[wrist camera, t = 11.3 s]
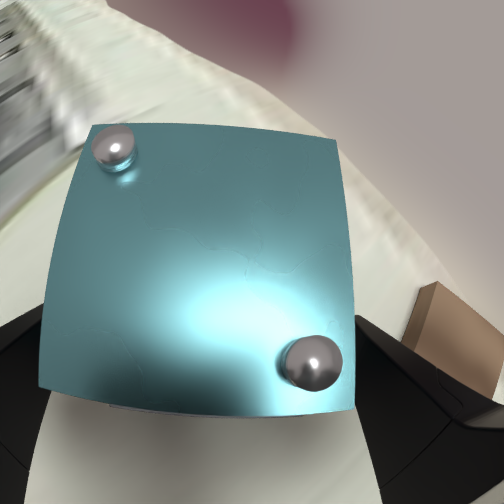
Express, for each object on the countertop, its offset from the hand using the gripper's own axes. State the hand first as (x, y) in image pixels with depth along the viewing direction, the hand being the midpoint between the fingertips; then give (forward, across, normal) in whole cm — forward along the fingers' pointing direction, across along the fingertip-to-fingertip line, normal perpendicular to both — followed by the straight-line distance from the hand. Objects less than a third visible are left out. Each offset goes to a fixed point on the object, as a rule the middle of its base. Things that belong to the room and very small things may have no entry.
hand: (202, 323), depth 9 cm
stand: (+3, -17, +8) cm, 19 cm away
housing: (+5, 0, +4) cm, 6 cm away
